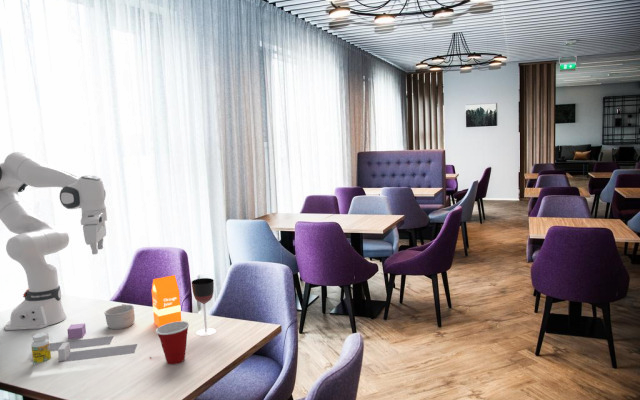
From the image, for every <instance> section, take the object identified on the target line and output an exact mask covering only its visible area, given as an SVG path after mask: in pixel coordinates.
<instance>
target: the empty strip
mask: <svg viewBox="0 0 640 400" xmlns="http://www.w3.org/2000/svg"><path fill="white" fill-rule="evenodd" d="M65 342H66V341H65ZM137 346H138V343H134V344H127V345H125V344H124V345H118V346H110V347H102V348H92V349H85V350H77V351H71V349H70V344H69V342H66V343H63V344H62V345H61V346H60V348H59V349H58V351H57V354H58V363H66V362H74V361H80V360H81V361H83V360H90V359H97V358H98V359H99V358H105V357H106V358H107V357H113V356H114V357H115V356H119V355H120V356H122V355H129V354H135V352H136V349H137Z"/></svg>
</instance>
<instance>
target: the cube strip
mask: <svg viewBox="0 0 640 400" xmlns="http://www.w3.org/2000/svg"><path fill="white" fill-rule="evenodd" d="M45 334H46V339H48V340H49V333H45ZM113 338H114V335H111V336H102V337H93V338H86V339H77V340H76V339H75V340H69V341H60V342H51V343H50V342H49V343H50V352H56V351H57V352H58V349H59V348H60V346H61V345H62V344H63V343H66V342H69V344H70V350H74V349H82V348H90V347H98V346H99V347H100V346H105V345H106V346H107V345H108V346H109V345H111V342H112V341H113ZM49 341H50V340H49Z"/></svg>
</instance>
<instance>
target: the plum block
mask: <svg viewBox="0 0 640 400" xmlns="http://www.w3.org/2000/svg"><path fill="white" fill-rule="evenodd" d="M86 330H87V328H86V323H85V322H84V323H75V324H70V325H69V327H68V328H67V330H66V331H67V339H68V340H72V339H81V338H83V337H84V336H85V335H86V333H87V331H86Z"/></svg>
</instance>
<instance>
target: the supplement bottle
mask: <svg viewBox="0 0 640 400" xmlns="http://www.w3.org/2000/svg"><path fill="white" fill-rule="evenodd" d="M46 334H47V333H45V332H43V333H42V332H41V333H37V334H34V335H32V341H33V342H31V345H30V346H31V354H32V361H33V362H32V363H33V364H34V366H36V365H37V364H38V363H43V362H44V363H45V362H47V361H49V360H51V359H52V351H50V340H48V339H46Z"/></svg>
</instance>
